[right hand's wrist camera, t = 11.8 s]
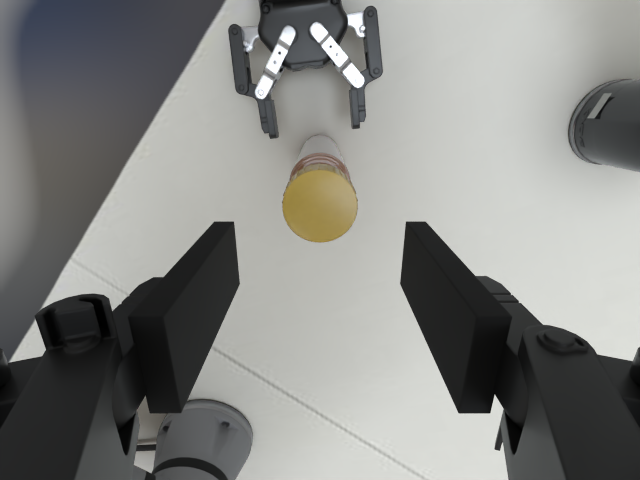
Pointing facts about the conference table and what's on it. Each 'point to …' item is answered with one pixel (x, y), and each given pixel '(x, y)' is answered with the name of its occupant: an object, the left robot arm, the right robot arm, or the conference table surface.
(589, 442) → the right robot arm
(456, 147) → the conference table surface
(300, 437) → the conference table surface
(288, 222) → the cap
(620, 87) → the left robot arm
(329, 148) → the bottle
